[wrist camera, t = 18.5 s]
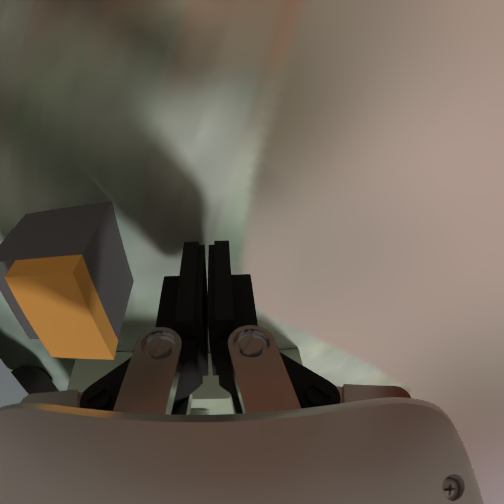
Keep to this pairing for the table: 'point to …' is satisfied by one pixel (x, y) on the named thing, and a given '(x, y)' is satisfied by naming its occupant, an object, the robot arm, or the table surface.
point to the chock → (68, 280)
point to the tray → (203, 396)
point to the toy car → (22, 383)
